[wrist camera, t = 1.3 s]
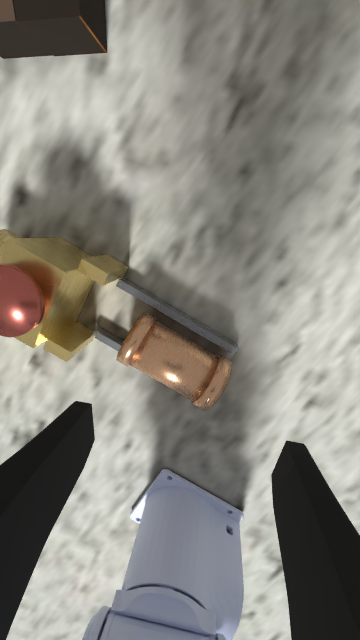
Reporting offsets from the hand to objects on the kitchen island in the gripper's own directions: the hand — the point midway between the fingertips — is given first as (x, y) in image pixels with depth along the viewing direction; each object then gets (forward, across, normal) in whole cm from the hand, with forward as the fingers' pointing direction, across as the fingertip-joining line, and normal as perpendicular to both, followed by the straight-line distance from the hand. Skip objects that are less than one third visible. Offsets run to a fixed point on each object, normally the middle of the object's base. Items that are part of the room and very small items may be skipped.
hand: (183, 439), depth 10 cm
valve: (+14, +12, +1) cm, 18 cm away
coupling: (+13, +2, +5) cm, 14 cm away
